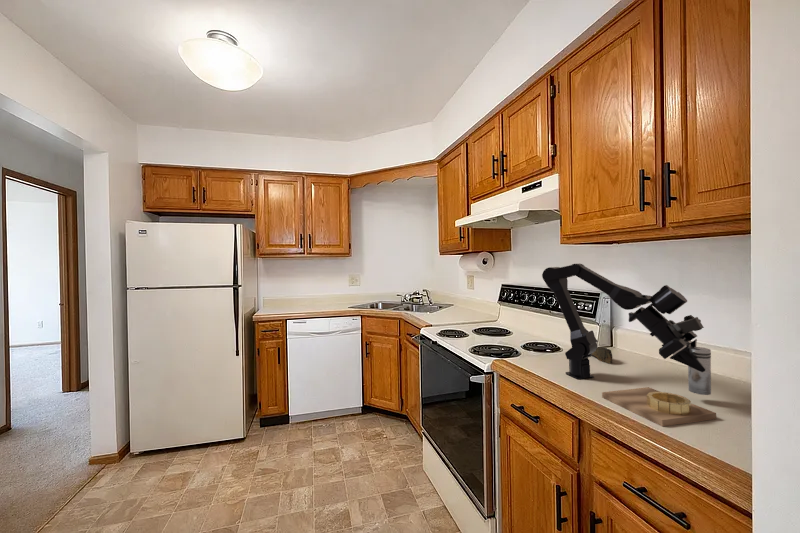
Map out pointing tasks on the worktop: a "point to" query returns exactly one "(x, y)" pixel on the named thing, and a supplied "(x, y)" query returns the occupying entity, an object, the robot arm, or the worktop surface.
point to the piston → (698, 379)
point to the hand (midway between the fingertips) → (705, 369)
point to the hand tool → (603, 354)
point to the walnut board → (638, 404)
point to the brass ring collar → (669, 403)
